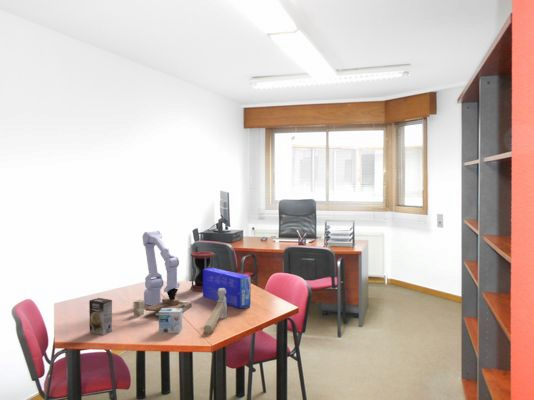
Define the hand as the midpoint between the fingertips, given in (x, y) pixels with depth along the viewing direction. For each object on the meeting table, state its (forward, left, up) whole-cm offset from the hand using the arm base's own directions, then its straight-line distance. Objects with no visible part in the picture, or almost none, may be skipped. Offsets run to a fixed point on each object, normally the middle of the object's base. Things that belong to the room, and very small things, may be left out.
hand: (172, 301), depth 256 cm
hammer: (+35, -16, -5) cm, 39 cm away
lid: (0, -7, -2) cm, 8 cm away
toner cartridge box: (+22, +27, -5) cm, 36 cm away
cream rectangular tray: (0, -1, -5) cm, 5 cm away
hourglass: (-5, +52, -5) cm, 52 cm away
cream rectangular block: (-13, -14, -5) cm, 20 cm away
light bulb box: (+17, -32, -5) cm, 37 cm away
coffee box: (-15, -44, -5) cm, 47 cm away
